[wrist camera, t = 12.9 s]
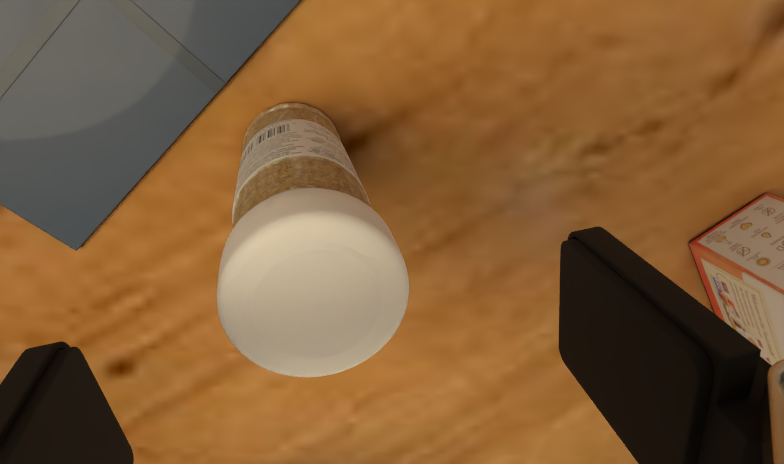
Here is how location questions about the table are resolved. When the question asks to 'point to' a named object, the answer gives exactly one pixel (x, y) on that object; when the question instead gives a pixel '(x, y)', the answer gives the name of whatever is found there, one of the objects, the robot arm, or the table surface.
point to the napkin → (108, 95)
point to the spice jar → (306, 252)
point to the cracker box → (748, 273)
